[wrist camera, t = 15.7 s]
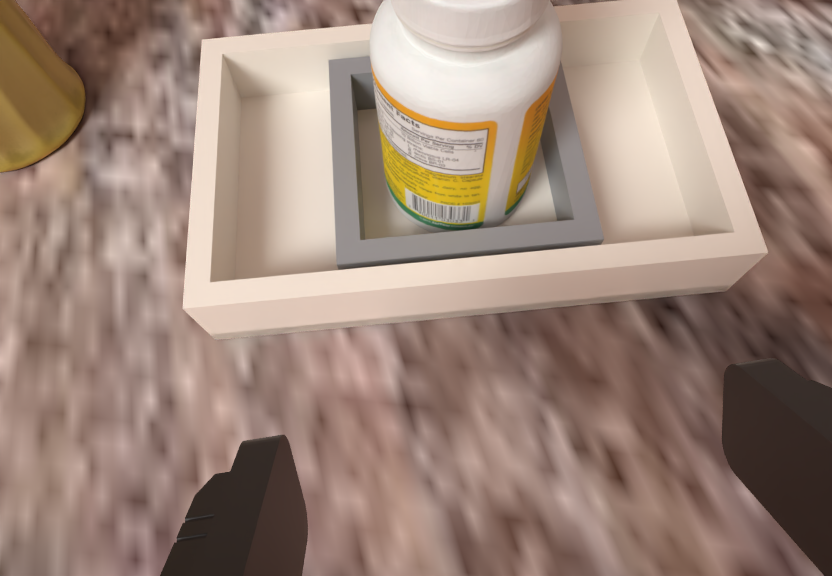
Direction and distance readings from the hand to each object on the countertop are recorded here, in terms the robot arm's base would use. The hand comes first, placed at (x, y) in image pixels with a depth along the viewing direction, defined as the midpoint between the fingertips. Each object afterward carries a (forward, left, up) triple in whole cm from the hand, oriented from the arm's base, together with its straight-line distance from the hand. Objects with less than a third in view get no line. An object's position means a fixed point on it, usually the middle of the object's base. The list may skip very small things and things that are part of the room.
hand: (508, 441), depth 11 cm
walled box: (0, +11, -9) cm, 14 cm away
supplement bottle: (+1, +11, -8) cm, 14 cm away
